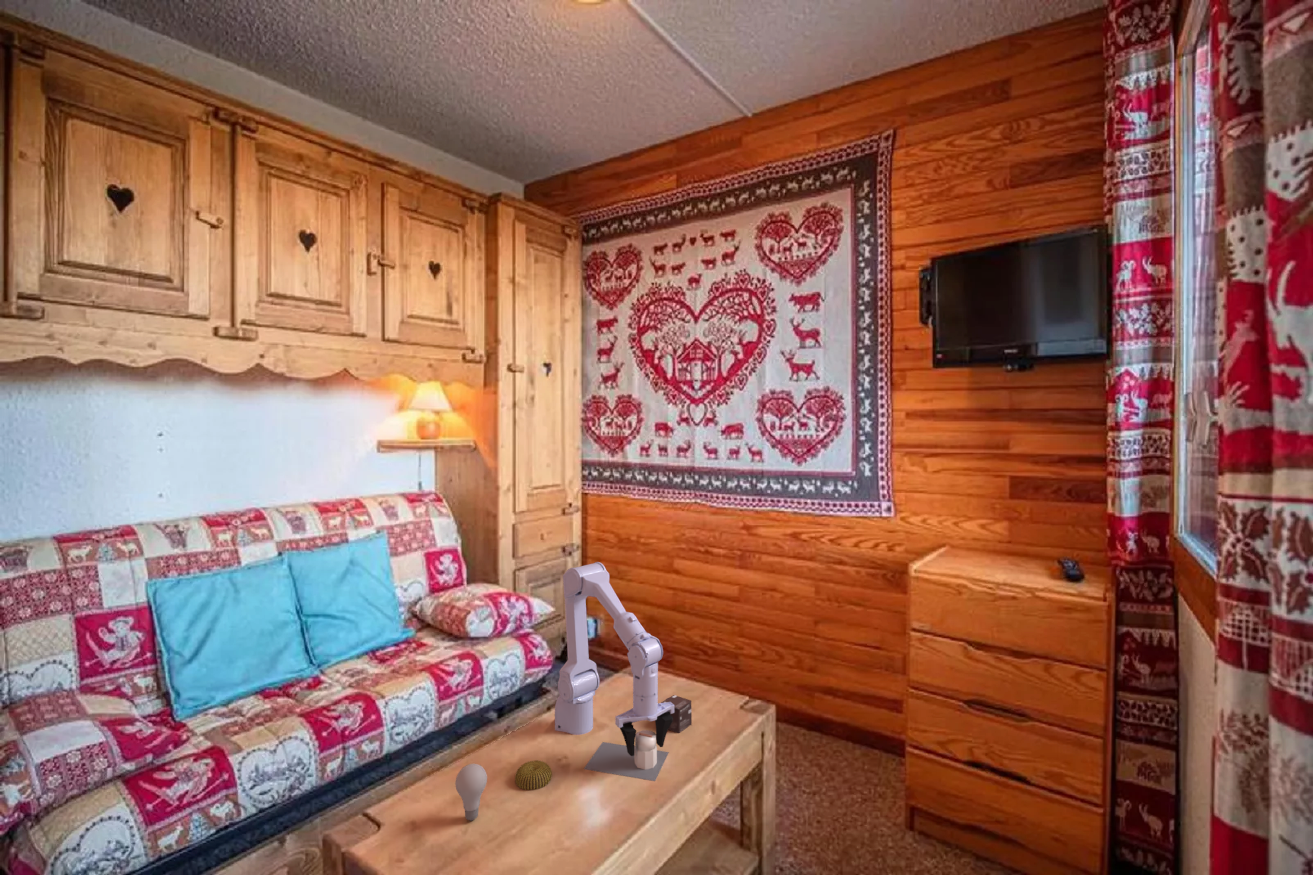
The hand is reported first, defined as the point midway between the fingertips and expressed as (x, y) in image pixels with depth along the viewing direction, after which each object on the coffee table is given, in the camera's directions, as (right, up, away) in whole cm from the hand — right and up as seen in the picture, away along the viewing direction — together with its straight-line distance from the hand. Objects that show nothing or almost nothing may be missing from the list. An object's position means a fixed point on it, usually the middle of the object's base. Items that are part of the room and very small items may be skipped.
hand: (645, 749), depth 139 cm
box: (+8, -4, +18) cm, 20 cm away
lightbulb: (-35, -5, -18) cm, 39 cm away
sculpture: (-25, -5, -6) cm, 26 cm away
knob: (0, -3, 0) cm, 3 cm away
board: (-4, -4, +1) cm, 6 cm away
